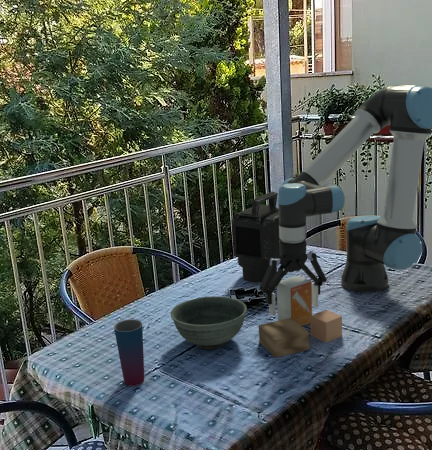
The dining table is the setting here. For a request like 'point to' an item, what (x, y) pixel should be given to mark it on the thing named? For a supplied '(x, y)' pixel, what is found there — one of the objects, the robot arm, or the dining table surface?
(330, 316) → the terracotta cube
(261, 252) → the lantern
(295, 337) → the walnut plinth
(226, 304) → the bowl
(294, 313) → the small box
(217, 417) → the dining table surface
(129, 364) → the cup
